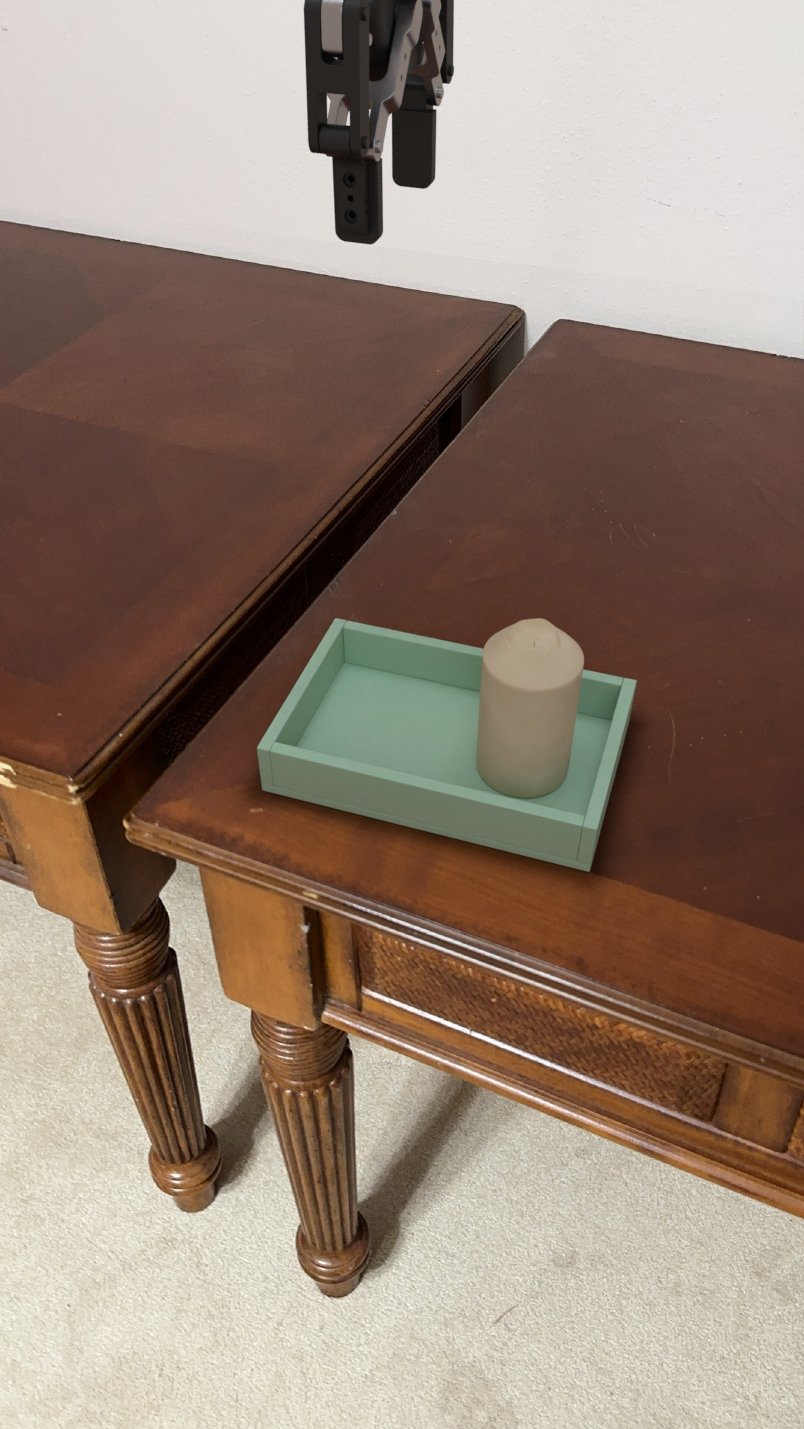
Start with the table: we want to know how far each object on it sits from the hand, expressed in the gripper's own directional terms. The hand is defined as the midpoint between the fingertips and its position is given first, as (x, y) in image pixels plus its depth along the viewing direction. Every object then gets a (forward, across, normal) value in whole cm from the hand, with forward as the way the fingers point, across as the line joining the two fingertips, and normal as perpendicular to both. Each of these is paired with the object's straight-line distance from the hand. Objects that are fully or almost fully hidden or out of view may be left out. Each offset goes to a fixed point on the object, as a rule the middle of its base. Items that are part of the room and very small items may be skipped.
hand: (388, 211), depth 56 cm
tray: (+28, -10, -7) cm, 30 cm away
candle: (+28, -10, -11) cm, 31 cm away
